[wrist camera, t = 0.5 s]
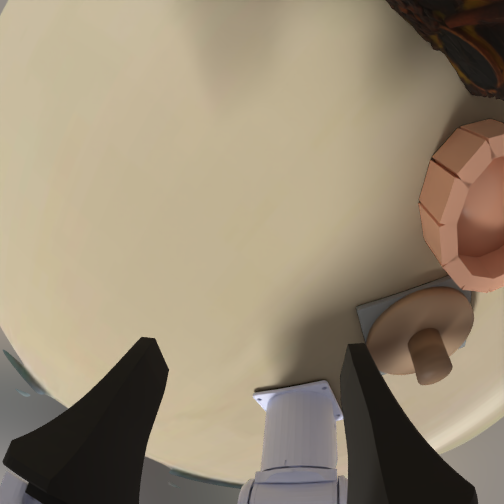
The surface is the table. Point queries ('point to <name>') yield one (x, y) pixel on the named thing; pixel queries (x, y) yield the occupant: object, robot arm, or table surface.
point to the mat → (376, 308)
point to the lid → (421, 333)
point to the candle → (463, 38)
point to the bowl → (467, 206)
